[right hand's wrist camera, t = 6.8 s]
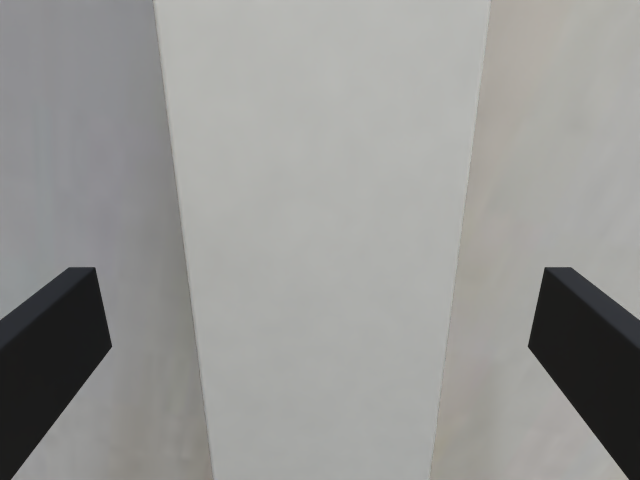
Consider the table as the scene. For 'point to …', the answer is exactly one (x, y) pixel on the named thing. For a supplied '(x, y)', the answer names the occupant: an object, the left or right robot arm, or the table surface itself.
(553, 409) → the table surface
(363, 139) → the bar
